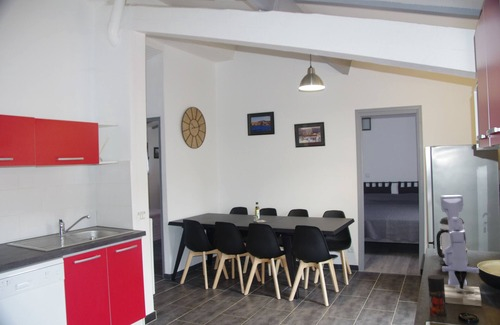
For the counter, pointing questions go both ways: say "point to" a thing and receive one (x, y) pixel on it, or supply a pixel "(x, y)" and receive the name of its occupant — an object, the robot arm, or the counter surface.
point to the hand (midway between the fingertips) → (461, 288)
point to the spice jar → (437, 295)
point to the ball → (459, 289)
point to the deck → (462, 295)
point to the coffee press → (444, 238)
